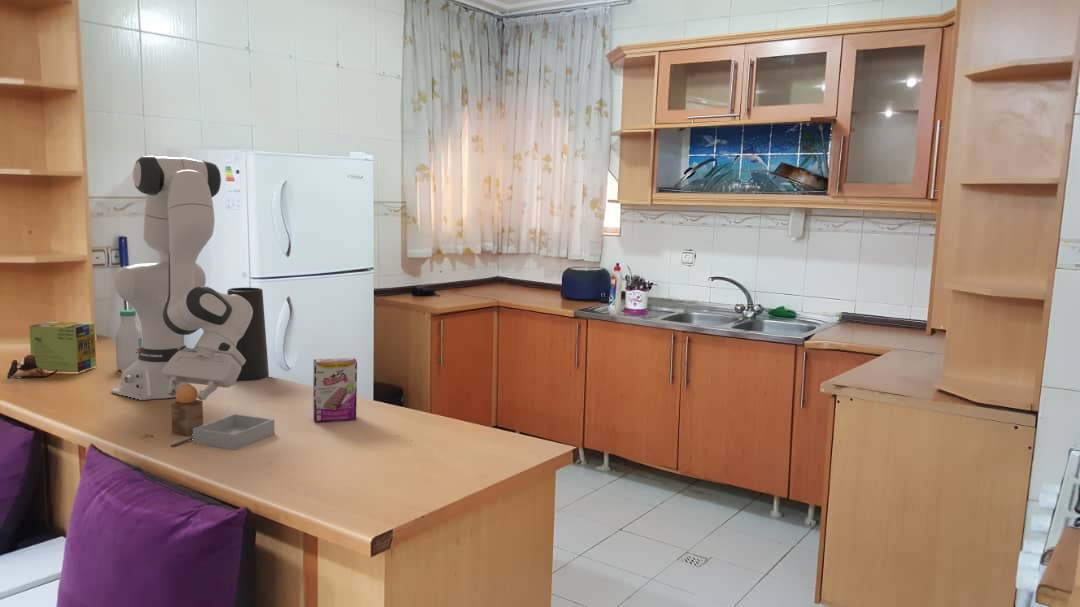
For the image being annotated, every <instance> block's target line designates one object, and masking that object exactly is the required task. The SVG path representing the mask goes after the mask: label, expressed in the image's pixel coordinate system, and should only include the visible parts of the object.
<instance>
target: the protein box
mask: <svg viewBox="0 0 1080 607" xmlns="http://www.w3.org/2000/svg"><path fill="white" fill-rule="evenodd" d="M95 327H96V326H95V322H80V321H74V322H73V321H48V322H43V323H37V324H33V325H30V326H29V344H30V346H29V347H30V356H31V355H33V356H35V360H36V365H37V366H38V367H39V368H42V369H44V370H47V371H54V370H57V371H58V372H80V371H83V370H86V369H89V368H92V367H94V366H96V367H97V354H96V353H97V351H96V350H97V349H96V334H95V332H96V331H95Z"/></svg>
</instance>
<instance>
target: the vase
mask: <svg viewBox="0 0 1080 607" xmlns="http://www.w3.org/2000/svg"><path fill="white" fill-rule="evenodd" d="M226 294H227V295H233V294H235V295H239V296H241V297H243V298H245V299H246V300H247V301H248V302H249V303H250V305H251V306H252V309H253V315H252V319H251V321H250V323H249V326H248V328H247V330H246V331H245V333H244V335H243V337H242V338H241V339H239V341H238V342H237V345H236V349H237V350H238V351H239V352H240V353H241V354H242V356H243V357H244V358H245V360H246V362H245V364H244V365H243V366H241V372H240V374H239V376H238V378H237V380H236V381H237V382H248V381H250V382H251V381H258V380H263V379H266V378H267V377H269V376H270V375H269V374H270V373H269V362H268V361H269V359H268V357H269V356H268V347H267V346H268V345H267V332H266V320H265V308H264V307H265V304H264V293H263V289H262V288H259V287H231V288H228V289H227V293H226ZM236 381H235V382H236Z"/></svg>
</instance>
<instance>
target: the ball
mask: <svg viewBox="0 0 1080 607" xmlns="http://www.w3.org/2000/svg"><path fill="white" fill-rule="evenodd" d="M198 394H199V392H198V390H197V388H196V387H195V386H194V385H192V384H191V385H183V386H181V387H179V388H178V390H177V391H176V397H175V399H176V402H177V401H178V402H179V403H181V404H190V403H193V402H195V401H196V400H198V397H197V395H198Z"/></svg>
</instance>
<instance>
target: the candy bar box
mask: <svg viewBox="0 0 1080 607" xmlns="http://www.w3.org/2000/svg"><path fill="white" fill-rule="evenodd" d="M312 374H313V378H312V379H313V380H312V381H313V382H312V383H313V386H312V388H313V390H312V392H313V393H312V394H313V395H312V396H313V398H312V400H313V401H312V402H313V403H312V406H313V407H312V408H313V409H312V410H313V413H312V416H313V422H314V423H325V422H326V423H328V421H329V422H341V421H342V420H345V421H356V420H357V392H358V391H357V390H358V387H357V386H358V384H357V382H358V381H357V378H358V361H357V359H356V357H355V358H354V357H346V358H345V357H344V358H338V357H337V358H314V359H313V373H312ZM355 419H356V420H355Z"/></svg>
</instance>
